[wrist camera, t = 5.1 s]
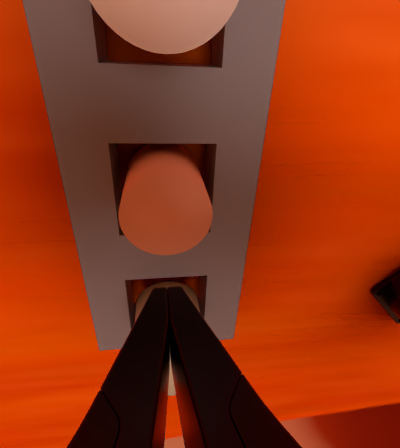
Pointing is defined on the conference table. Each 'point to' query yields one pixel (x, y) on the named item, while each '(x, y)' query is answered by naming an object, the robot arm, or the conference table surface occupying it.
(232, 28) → the button board
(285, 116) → the conference table surface
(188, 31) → the button offwhite
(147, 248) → the button terracotta
